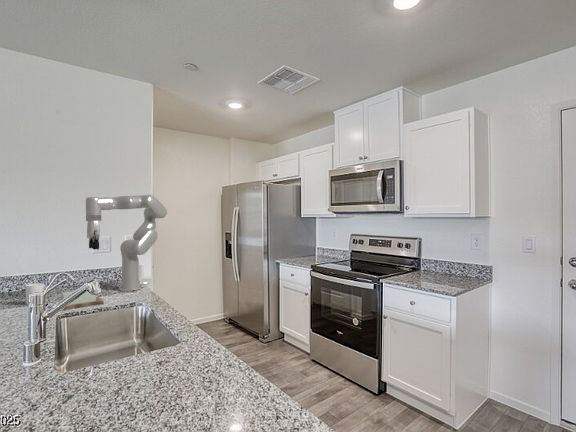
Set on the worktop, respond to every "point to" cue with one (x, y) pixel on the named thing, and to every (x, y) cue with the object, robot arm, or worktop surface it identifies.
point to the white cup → (33, 289)
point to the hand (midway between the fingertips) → (94, 248)
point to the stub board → (85, 304)
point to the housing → (82, 299)
